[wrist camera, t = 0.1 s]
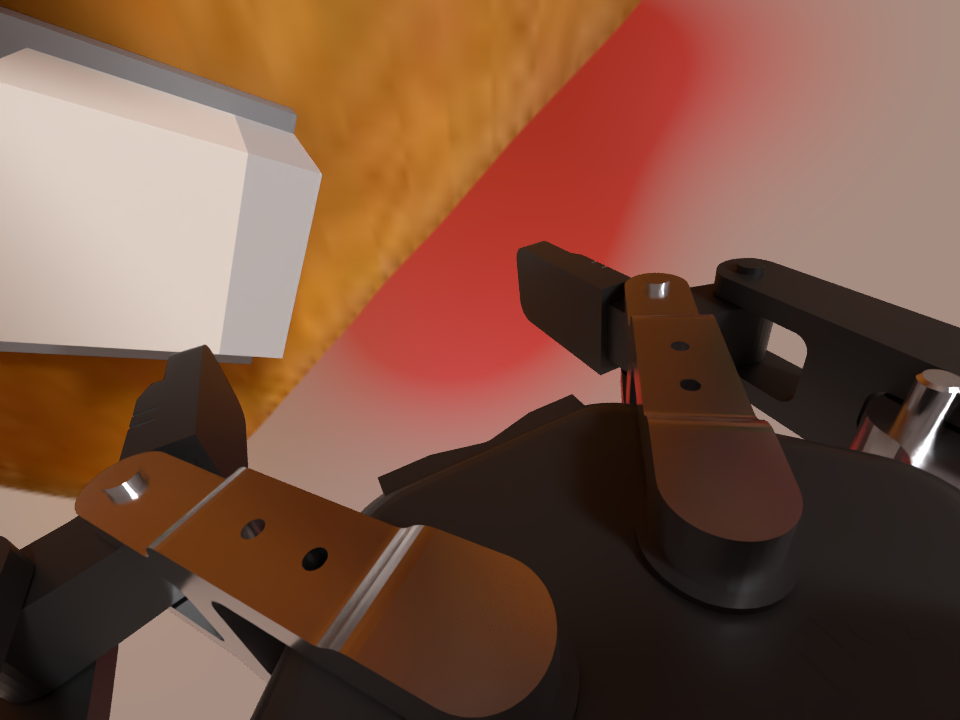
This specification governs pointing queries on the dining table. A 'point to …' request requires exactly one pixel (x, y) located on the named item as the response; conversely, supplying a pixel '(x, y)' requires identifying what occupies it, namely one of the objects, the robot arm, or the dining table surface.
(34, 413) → the dining table surface
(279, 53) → the dining table surface
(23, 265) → the stand
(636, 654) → the robot arm
